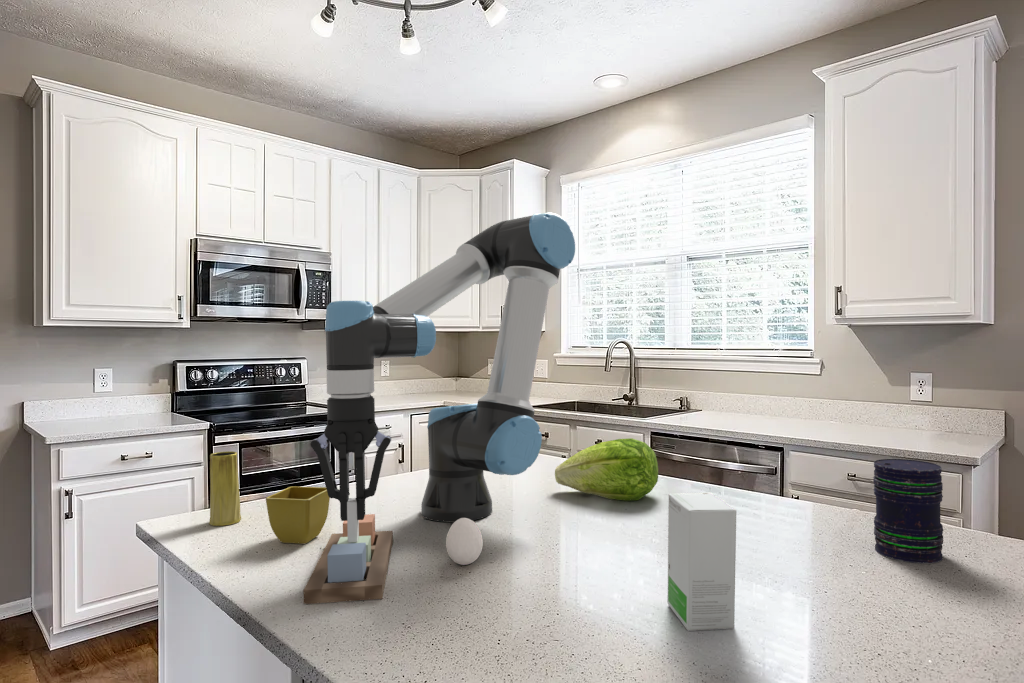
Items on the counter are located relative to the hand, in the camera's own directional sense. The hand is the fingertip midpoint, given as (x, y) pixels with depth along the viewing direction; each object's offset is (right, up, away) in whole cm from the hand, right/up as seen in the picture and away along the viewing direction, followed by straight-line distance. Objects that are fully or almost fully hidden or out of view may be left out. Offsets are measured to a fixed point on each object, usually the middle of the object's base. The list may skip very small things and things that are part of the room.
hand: (353, 539), depth 103 cm
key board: (0, -5, 0) cm, 5 cm away
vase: (-34, -5, +28) cm, 44 cm away
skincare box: (+51, -4, -20) cm, 55 cm away
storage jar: (+93, -3, +3) cm, 93 cm away
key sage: (0, -4, 0) cm, 4 cm away
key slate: (+1, -3, -8) cm, 9 cm away
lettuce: (+48, -4, +45) cm, 65 cm away
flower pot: (-14, -5, +15) cm, 21 cm away
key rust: (-1, -3, +8) cm, 9 cm away
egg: (+18, -5, +1) cm, 19 cm away
